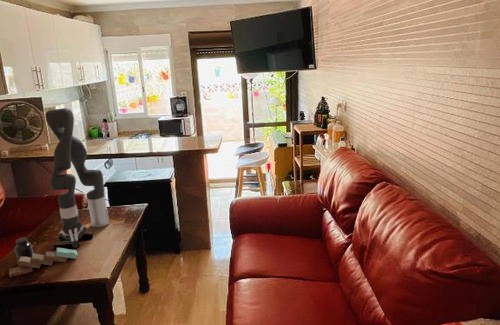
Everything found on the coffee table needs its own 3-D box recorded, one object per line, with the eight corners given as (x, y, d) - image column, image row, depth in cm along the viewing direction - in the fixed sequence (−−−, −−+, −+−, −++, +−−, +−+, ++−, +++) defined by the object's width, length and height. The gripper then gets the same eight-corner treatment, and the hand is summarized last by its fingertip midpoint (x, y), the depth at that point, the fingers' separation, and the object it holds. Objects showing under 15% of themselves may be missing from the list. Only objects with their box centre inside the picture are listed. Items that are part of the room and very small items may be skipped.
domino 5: (76, 250, 181) (57, 247, 175) (77, 254, 176) (58, 251, 171) (75, 254, 181) (55, 251, 176) (76, 258, 176) (56, 256, 171)
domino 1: (42, 259, 173) (20, 256, 169) (41, 264, 169) (19, 260, 165) (40, 263, 174) (19, 260, 169) (39, 268, 169) (17, 265, 165)
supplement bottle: (23, 258, 179) (17, 236, 175) (37, 257, 179) (32, 235, 176) (15, 266, 172) (9, 243, 169) (30, 265, 173) (25, 242, 169)
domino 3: (53, 256, 176) (32, 253, 171) (53, 261, 171) (32, 258, 167) (52, 260, 176) (31, 257, 171) (51, 265, 171) (30, 262, 167)
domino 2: (32, 263, 171) (9, 269, 167) (32, 268, 167) (9, 274, 163) (33, 267, 172) (10, 273, 168) (33, 272, 168) (10, 278, 163)
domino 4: (66, 253, 178) (46, 251, 173) (67, 257, 174) (46, 255, 169) (64, 257, 178) (44, 255, 173) (66, 261, 174) (45, 260, 169)
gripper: (54, 221, 166) (61, 254, 171) (85, 213, 173) (91, 246, 178) (53, 215, 172) (60, 247, 177) (83, 208, 179) (88, 240, 184)
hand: (75, 246), depth 178 cm, fingers closed
